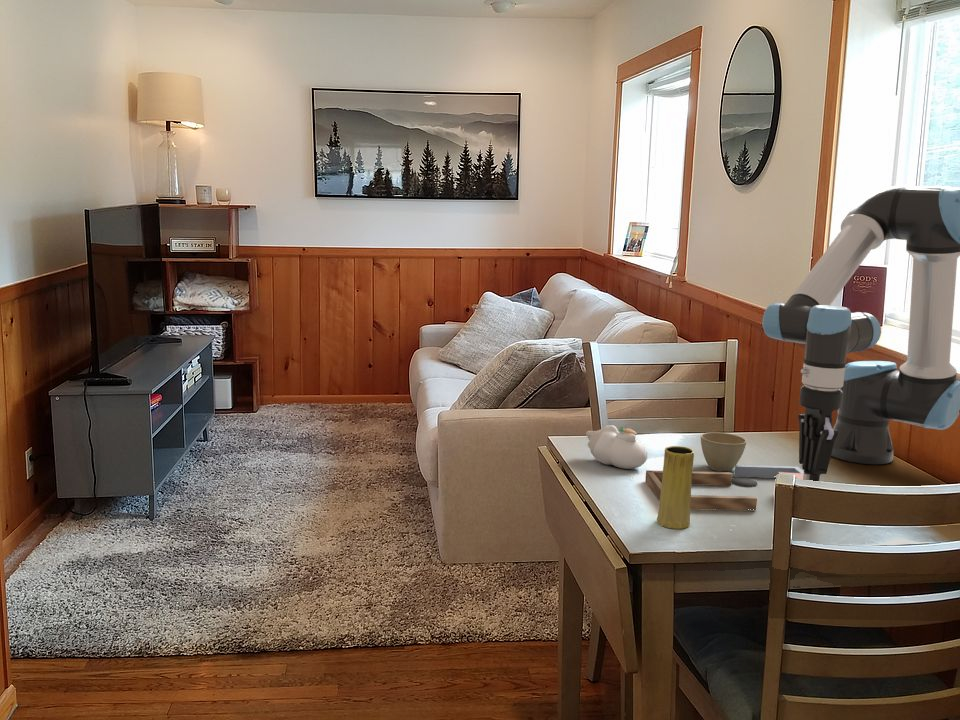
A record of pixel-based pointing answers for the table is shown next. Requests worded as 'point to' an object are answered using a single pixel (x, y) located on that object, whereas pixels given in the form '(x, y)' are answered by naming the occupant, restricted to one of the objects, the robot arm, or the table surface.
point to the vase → (676, 488)
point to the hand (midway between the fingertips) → (808, 504)
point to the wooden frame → (706, 500)
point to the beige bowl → (722, 450)
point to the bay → (763, 470)
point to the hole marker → (744, 482)
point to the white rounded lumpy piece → (617, 447)
